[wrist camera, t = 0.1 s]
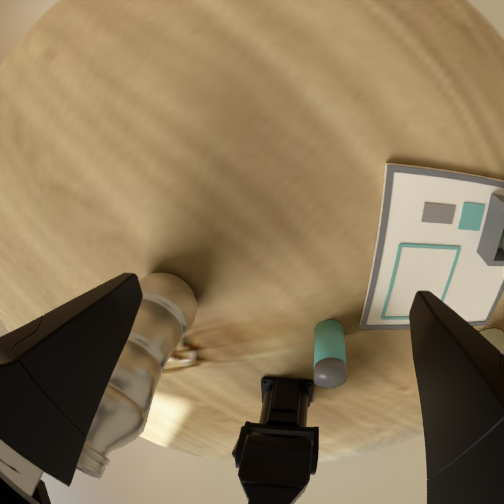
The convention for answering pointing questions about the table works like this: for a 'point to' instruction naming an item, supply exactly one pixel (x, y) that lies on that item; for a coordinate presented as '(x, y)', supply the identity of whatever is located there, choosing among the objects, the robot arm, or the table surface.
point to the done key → (502, 240)
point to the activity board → (436, 245)
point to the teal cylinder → (329, 354)
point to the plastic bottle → (139, 368)
